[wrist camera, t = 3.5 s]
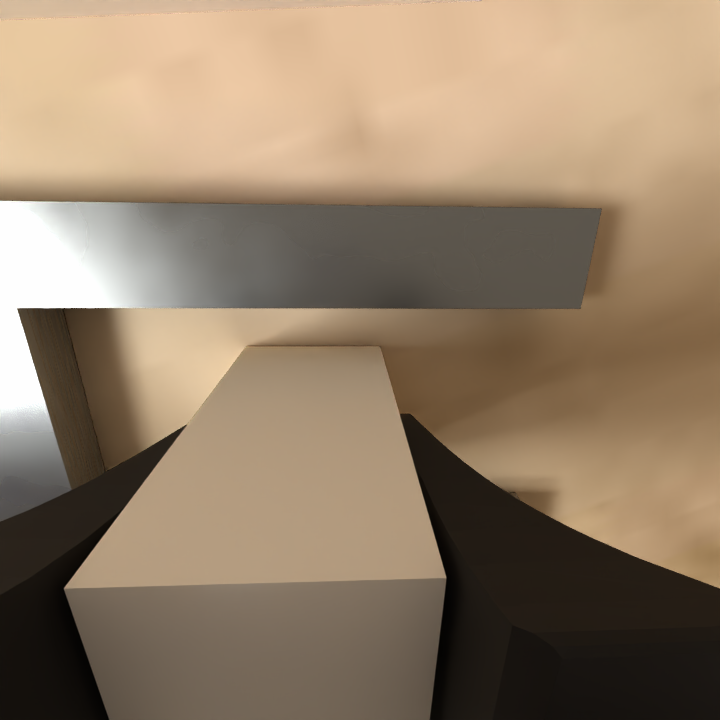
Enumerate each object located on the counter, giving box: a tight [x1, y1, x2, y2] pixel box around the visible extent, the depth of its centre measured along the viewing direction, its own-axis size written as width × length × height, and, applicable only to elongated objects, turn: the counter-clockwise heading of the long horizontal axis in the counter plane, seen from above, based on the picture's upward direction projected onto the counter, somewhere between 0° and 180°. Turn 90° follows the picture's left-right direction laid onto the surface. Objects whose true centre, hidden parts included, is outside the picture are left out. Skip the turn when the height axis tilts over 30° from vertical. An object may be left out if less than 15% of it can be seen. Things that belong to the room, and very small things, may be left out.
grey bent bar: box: [0, 201, 602, 521], centre depth 11 cm, size 22×12×2 cm, turn 89°
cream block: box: [64, 346, 446, 720], centre depth 9 cm, size 4×4×8 cm
